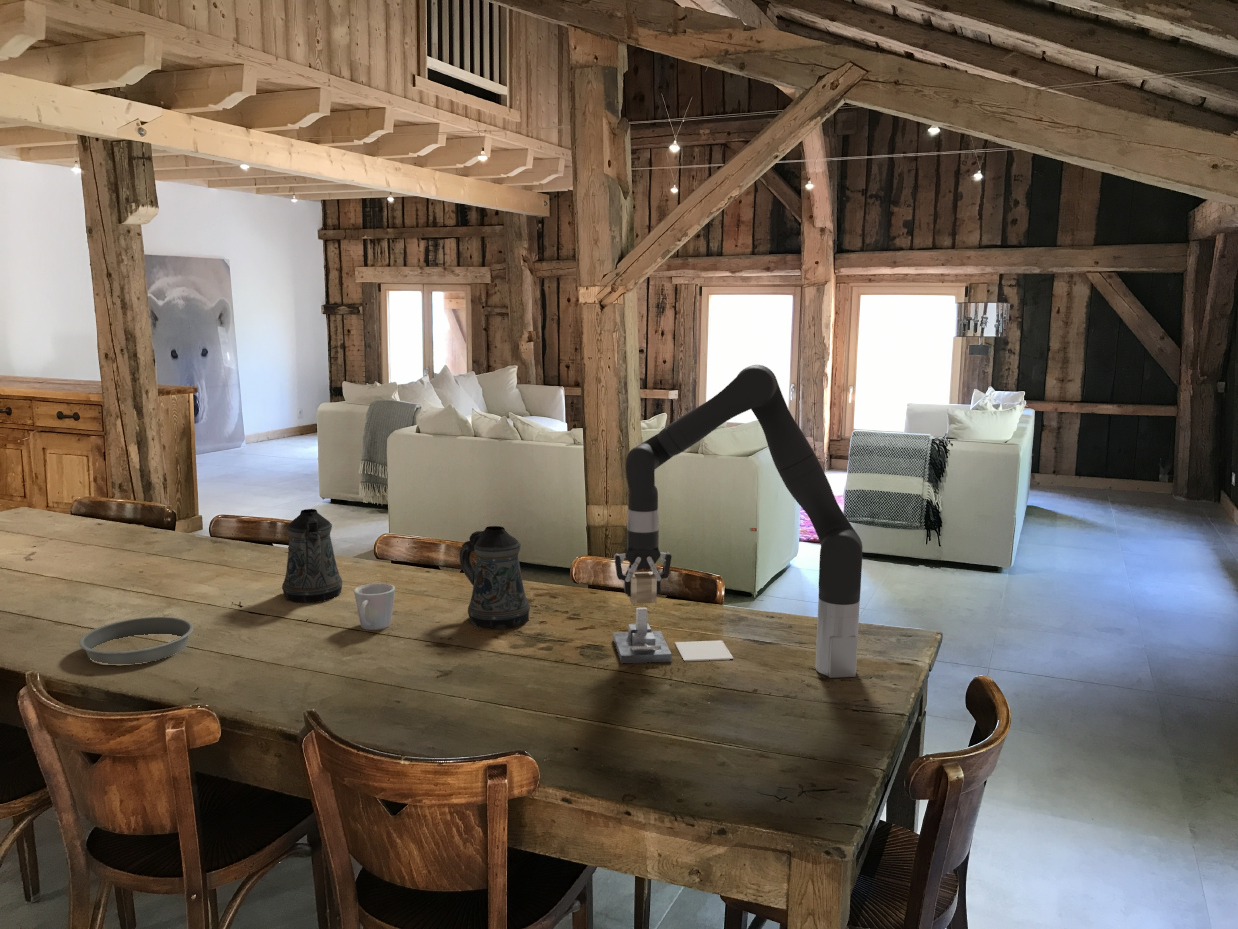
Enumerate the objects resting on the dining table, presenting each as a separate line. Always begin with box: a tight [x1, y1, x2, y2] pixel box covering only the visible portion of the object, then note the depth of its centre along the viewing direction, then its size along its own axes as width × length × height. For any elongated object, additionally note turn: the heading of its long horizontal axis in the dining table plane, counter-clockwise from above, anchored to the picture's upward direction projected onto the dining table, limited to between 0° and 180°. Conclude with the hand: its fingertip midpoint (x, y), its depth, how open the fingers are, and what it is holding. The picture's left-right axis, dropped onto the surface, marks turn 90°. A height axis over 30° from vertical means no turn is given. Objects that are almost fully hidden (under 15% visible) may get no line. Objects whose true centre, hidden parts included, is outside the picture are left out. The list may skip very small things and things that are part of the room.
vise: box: [612, 607, 673, 664], centre depth 228 cm, size 16×12×10 cm
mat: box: [674, 639, 734, 662], centre depth 229 cm, size 12×12×1 cm
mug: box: [353, 582, 396, 631], centre depth 243 cm, size 10×15×10 cm
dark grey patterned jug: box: [281, 508, 343, 604], centre depth 268 cm, size 16×19×25 cm
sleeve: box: [628, 571, 658, 604], centre depth 226 cm, size 6×6×6 cm
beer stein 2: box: [459, 525, 531, 630], centre depth 249 cm, size 16×19×25 cm
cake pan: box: [78, 616, 194, 664], centre depth 227 cm, size 25×25×4 cm
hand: (642, 595), depth 227 cm, fingers closed on sleeve, 6 cm apart
